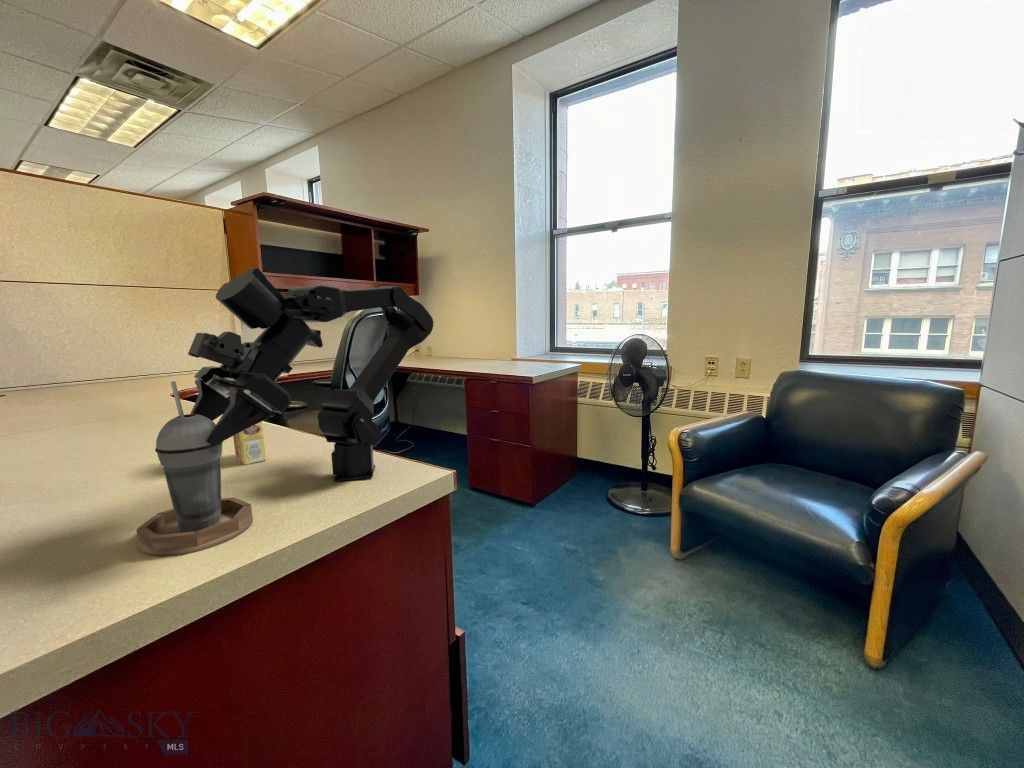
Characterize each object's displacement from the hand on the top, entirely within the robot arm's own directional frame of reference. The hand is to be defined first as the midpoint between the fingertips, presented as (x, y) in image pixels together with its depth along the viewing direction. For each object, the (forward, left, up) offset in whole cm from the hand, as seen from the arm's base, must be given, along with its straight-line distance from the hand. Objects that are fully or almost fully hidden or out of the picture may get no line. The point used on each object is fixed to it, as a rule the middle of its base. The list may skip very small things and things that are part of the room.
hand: (196, 438), depth 58 cm
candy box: (+6, -33, -13) cm, 36 cm away
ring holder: (+1, +1, -13) cm, 13 cm away
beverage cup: (0, +1, -12) cm, 12 cm away
